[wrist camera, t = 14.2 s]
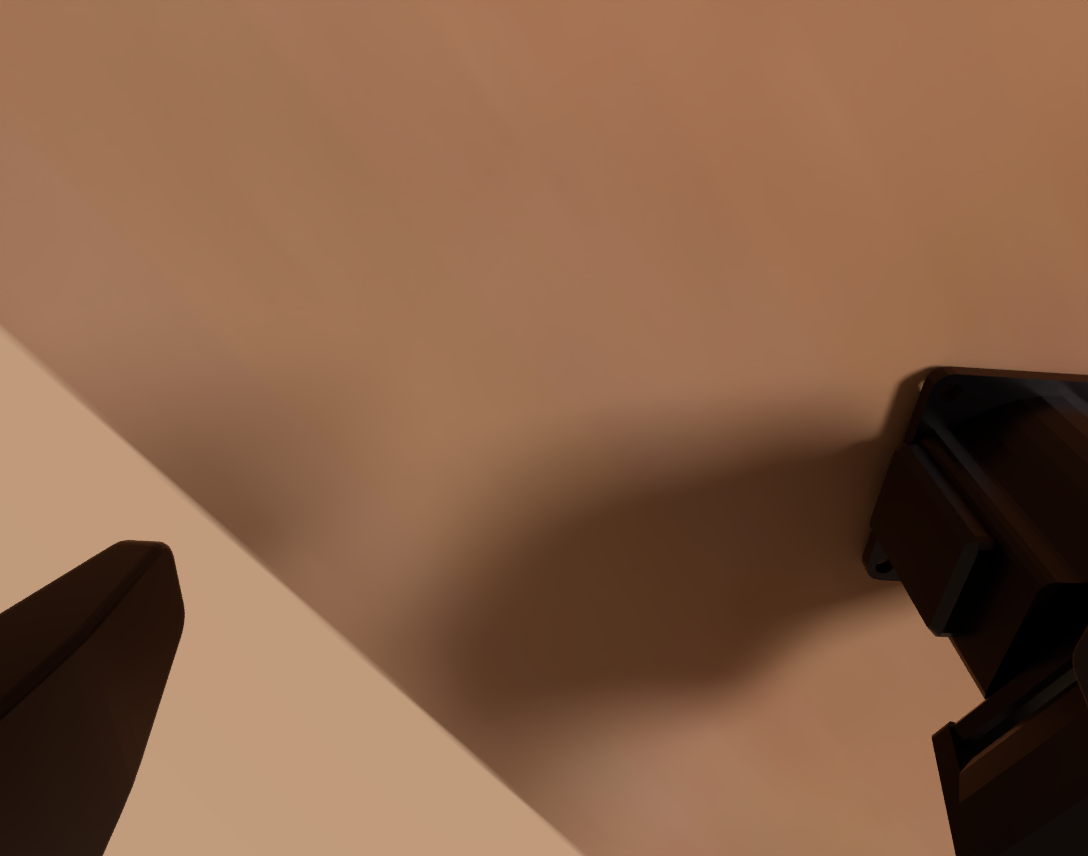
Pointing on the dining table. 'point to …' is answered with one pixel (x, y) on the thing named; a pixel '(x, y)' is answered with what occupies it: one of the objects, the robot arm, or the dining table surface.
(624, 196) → the dining table surface
